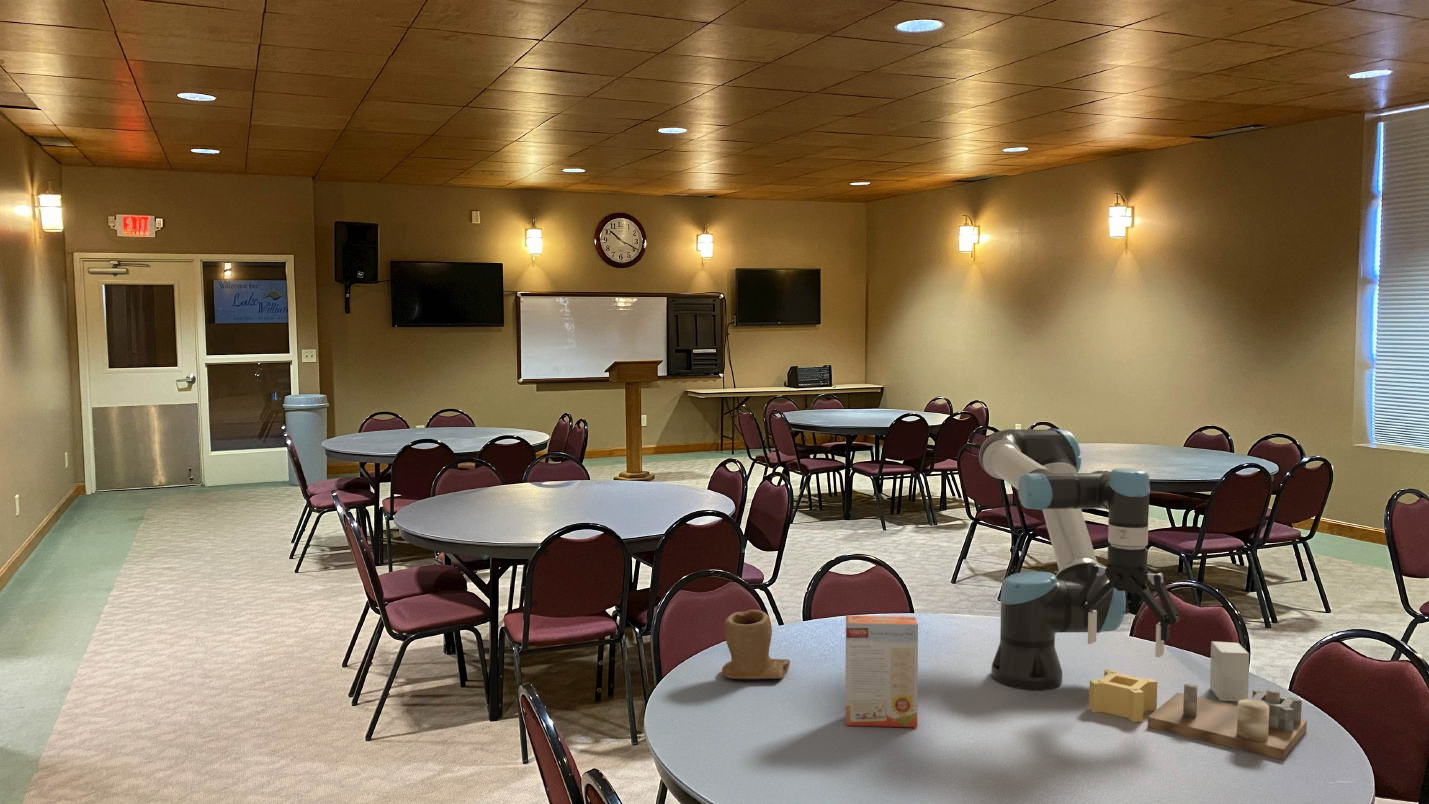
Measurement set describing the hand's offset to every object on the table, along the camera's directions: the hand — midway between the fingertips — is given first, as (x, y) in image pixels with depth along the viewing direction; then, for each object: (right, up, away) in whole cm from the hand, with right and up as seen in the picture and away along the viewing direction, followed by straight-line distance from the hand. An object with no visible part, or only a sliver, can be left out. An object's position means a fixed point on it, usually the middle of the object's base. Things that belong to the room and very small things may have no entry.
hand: (1125, 648), depth 213 cm
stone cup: (-74, -12, +21) cm, 78 cm away
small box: (+26, -12, +9) cm, 30 cm away
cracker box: (-51, -14, -5) cm, 53 cm away
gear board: (+16, -14, -9) cm, 23 cm away
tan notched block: (0, -13, +1) cm, 13 cm away
